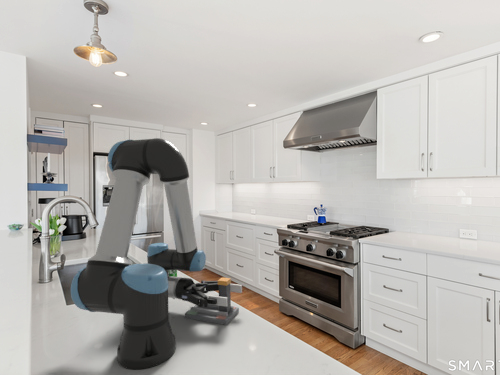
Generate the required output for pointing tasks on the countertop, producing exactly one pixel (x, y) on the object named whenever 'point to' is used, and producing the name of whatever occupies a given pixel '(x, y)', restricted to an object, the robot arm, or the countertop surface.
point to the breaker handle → (225, 293)
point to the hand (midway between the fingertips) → (234, 295)
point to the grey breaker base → (211, 314)
